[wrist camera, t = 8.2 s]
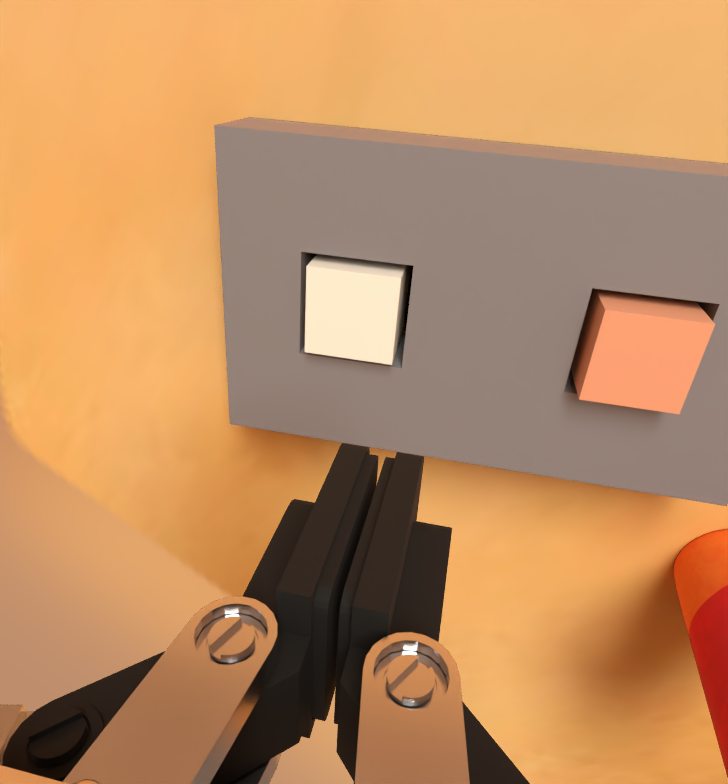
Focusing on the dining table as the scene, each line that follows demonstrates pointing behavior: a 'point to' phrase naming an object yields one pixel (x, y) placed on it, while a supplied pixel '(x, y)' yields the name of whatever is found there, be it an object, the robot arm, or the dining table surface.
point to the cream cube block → (355, 307)
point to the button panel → (472, 296)
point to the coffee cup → (708, 620)
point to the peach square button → (639, 350)
